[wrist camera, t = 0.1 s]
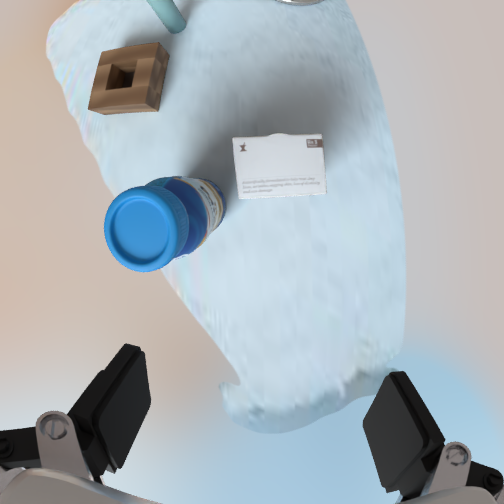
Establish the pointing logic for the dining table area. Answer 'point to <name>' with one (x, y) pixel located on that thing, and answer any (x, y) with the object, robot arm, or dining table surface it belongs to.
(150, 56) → the socket block
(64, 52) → the dining table surface
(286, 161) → the skincare box
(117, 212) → the beverage bottle
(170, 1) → the peg
